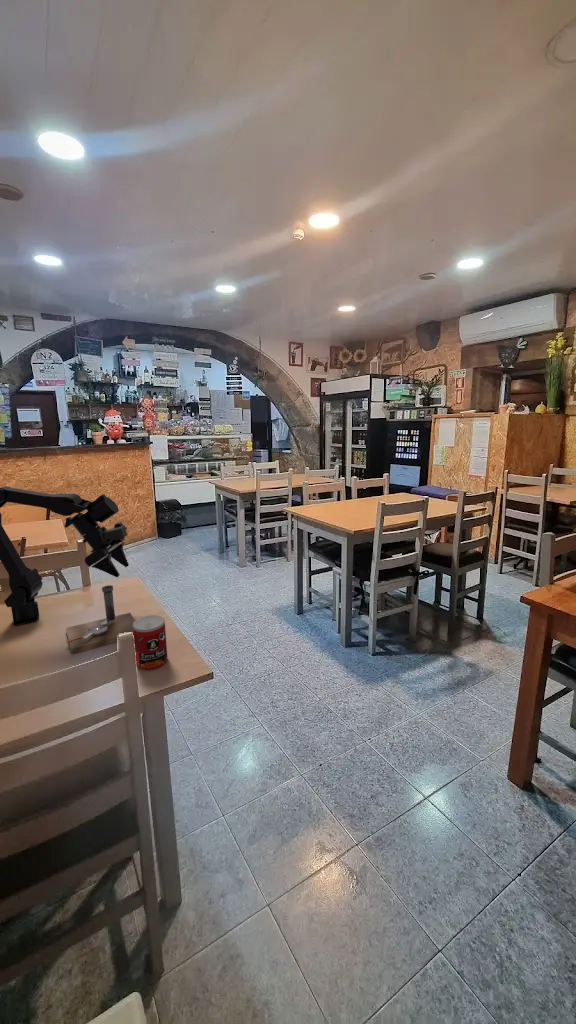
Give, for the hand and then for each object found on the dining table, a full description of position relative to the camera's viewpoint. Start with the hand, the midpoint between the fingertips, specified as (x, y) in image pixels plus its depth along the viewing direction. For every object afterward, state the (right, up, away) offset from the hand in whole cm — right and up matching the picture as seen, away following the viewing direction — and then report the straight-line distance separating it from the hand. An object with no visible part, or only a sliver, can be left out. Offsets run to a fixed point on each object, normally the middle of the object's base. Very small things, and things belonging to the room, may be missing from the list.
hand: (123, 571), depth 129 cm
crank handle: (-3, -15, -10) cm, 19 cm away
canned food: (+17, -20, -23) cm, 35 cm away
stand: (-2, -17, -9) cm, 19 cm away
